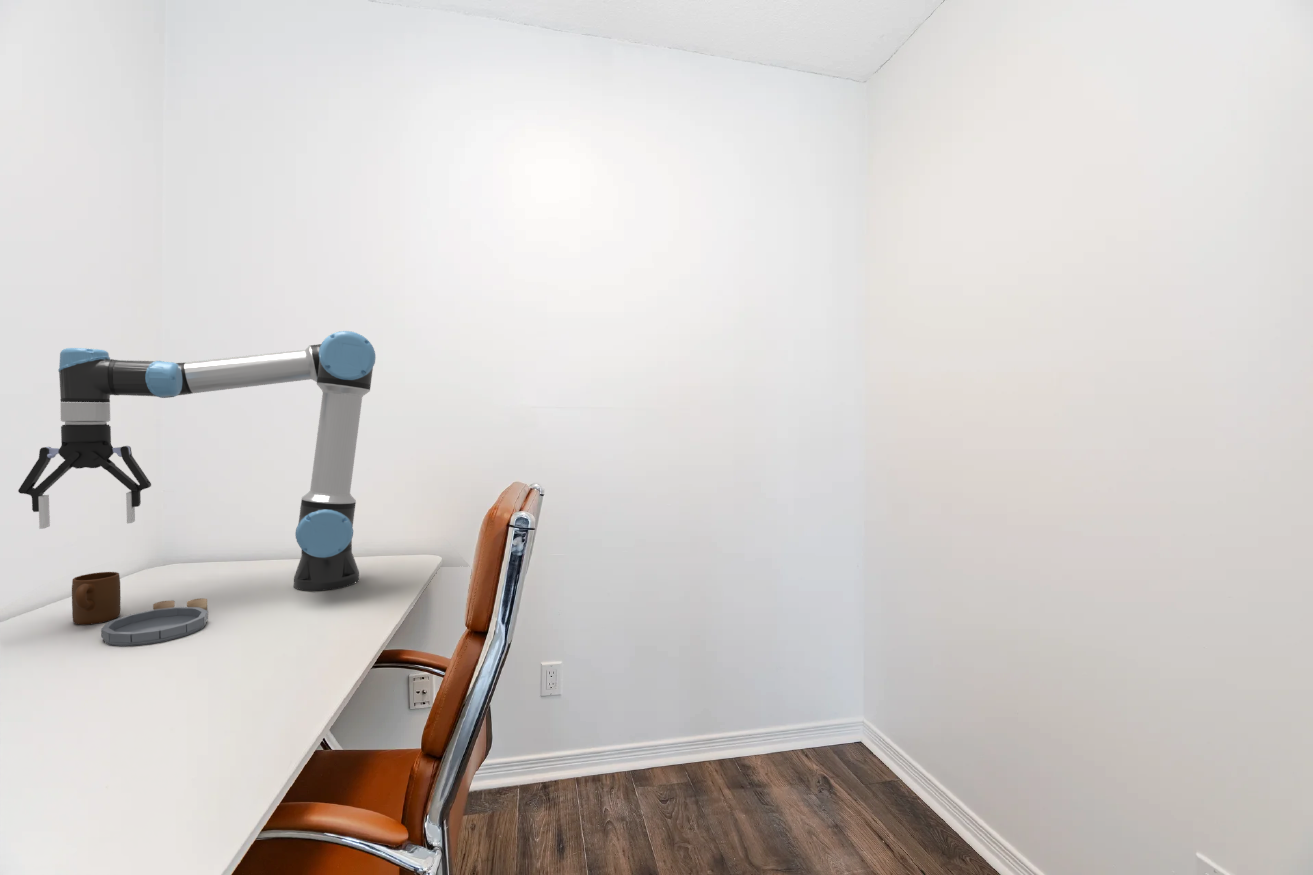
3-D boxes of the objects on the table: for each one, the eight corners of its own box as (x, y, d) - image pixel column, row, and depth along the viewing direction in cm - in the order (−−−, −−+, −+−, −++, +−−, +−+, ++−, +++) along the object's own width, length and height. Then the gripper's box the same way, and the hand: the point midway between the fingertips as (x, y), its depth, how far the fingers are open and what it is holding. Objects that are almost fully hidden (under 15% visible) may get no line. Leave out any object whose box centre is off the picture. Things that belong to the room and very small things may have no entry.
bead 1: (176, 612, 134) (176, 599, 134) (172, 617, 131) (172, 604, 131) (155, 615, 133) (155, 601, 132) (151, 620, 129) (151, 606, 129)
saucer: (213, 613, 134) (213, 602, 134) (198, 638, 120) (197, 626, 119) (118, 624, 126) (118, 613, 126) (89, 651, 112) (89, 639, 112)
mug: (103, 629, 123) (102, 584, 123) (54, 634, 120) (53, 588, 120) (126, 612, 134) (125, 570, 134) (82, 616, 131) (81, 573, 131)
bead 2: (208, 610, 136) (208, 597, 136) (205, 615, 133) (205, 601, 133) (188, 612, 134) (188, 599, 134) (185, 617, 131) (185, 604, 131)
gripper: (166, 423, 135) (168, 517, 136) (11, 423, 123) (14, 526, 124) (158, 423, 128) (160, 523, 129) (-7, 423, 116) (-4, 533, 117)
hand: (88, 524), depth 127 cm, fingers open, 13 cm apart
